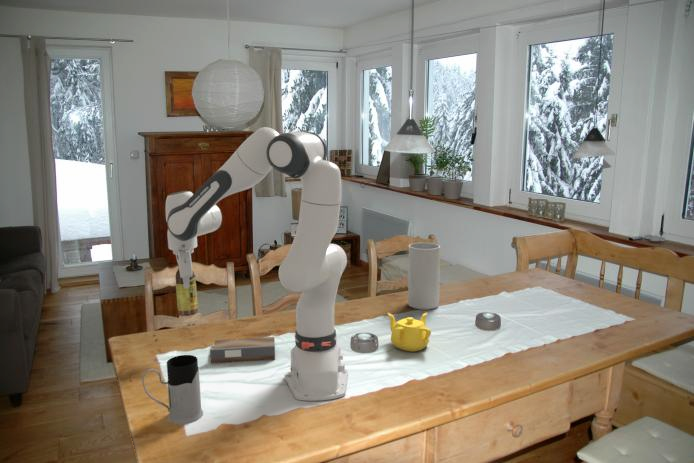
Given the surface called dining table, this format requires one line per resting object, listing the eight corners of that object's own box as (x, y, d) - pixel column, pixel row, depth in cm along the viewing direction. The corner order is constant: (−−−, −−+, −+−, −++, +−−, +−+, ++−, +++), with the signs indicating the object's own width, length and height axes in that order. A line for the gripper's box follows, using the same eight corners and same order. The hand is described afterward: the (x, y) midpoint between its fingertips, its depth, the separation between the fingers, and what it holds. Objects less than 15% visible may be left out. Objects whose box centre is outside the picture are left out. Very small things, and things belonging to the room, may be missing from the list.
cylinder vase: (440, 310, 225) (442, 249, 220) (409, 310, 225) (410, 249, 221) (436, 300, 237) (437, 242, 233) (406, 300, 238) (407, 242, 233)
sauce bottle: (195, 316, 179) (189, 255, 175) (175, 317, 179) (170, 256, 176) (200, 310, 185) (195, 251, 182) (181, 311, 185) (176, 251, 182)
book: (275, 359, 179) (274, 355, 179) (210, 363, 177) (210, 359, 176) (274, 340, 195) (274, 336, 195) (215, 344, 192) (215, 340, 192)
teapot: (426, 338, 196) (427, 311, 194) (432, 353, 183) (433, 324, 181) (387, 338, 196) (387, 311, 194) (390, 354, 183) (390, 325, 181)
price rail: (275, 355, 179) (274, 346, 178) (210, 359, 176) (209, 350, 176) (274, 353, 180) (274, 344, 180) (210, 357, 178) (210, 348, 177)
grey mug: (204, 421, 143) (200, 365, 140) (144, 430, 139) (139, 373, 136) (202, 404, 151) (199, 352, 148) (146, 412, 147) (142, 358, 144)
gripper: (195, 247, 169) (198, 292, 172) (191, 236, 188) (194, 276, 191) (173, 249, 167) (177, 294, 170) (171, 237, 186) (174, 278, 189)
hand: (186, 284), depth 181 cm, fingers closed on sauce bottle, 6 cm apart
